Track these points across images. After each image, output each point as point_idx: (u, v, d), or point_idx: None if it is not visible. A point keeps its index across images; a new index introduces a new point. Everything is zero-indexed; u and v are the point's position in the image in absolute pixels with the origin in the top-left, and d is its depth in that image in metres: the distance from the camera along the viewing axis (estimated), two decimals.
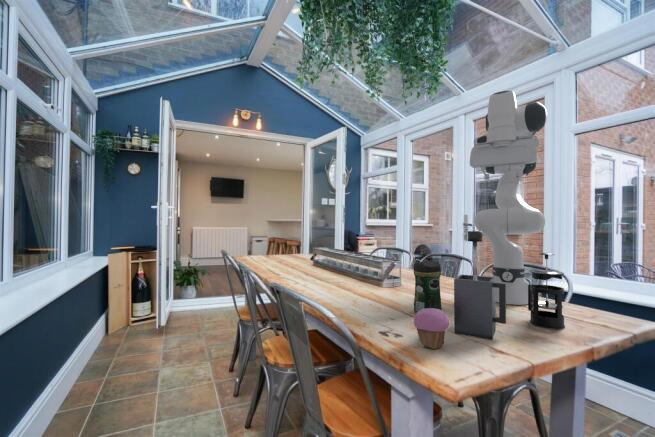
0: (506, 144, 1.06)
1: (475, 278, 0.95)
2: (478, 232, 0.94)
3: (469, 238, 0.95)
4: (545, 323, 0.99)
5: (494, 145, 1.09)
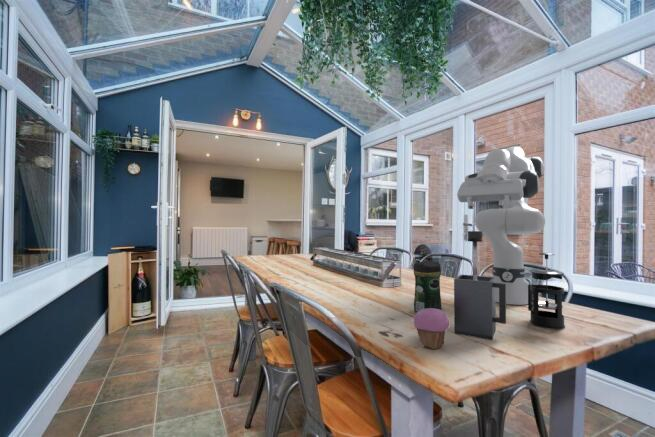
0: (494, 179, 1.09)
1: (475, 278, 0.95)
2: (478, 232, 0.94)
3: (469, 238, 0.95)
4: (545, 323, 0.99)
5: (483, 181, 1.12)
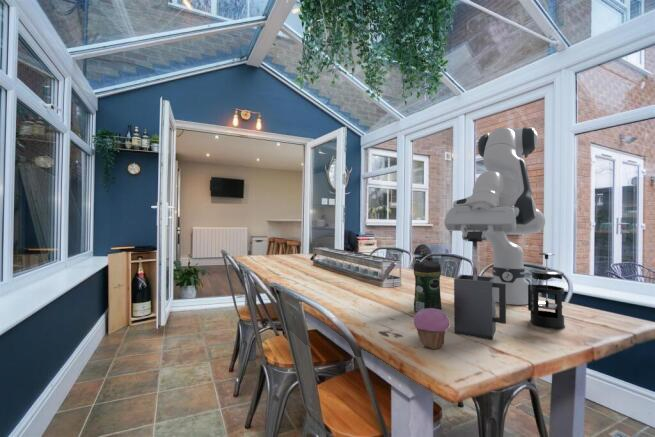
0: (484, 207, 0.99)
1: (475, 278, 0.95)
2: (478, 232, 0.94)
3: (469, 238, 0.95)
4: (545, 323, 0.99)
5: (472, 207, 1.02)
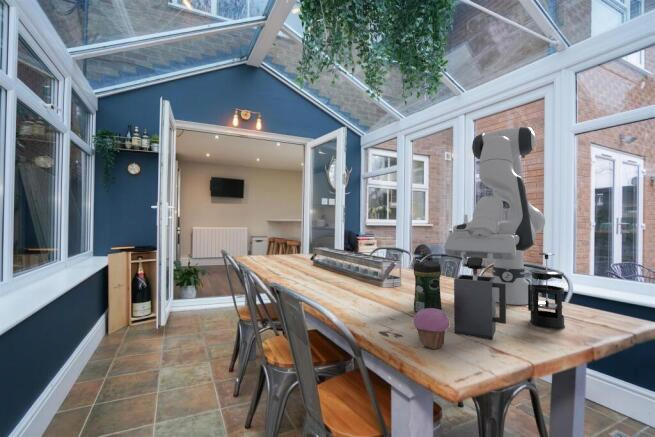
0: (484, 233, 0.99)
1: None
2: (478, 259, 0.94)
3: (469, 265, 0.95)
4: (545, 323, 0.99)
5: (472, 234, 1.01)
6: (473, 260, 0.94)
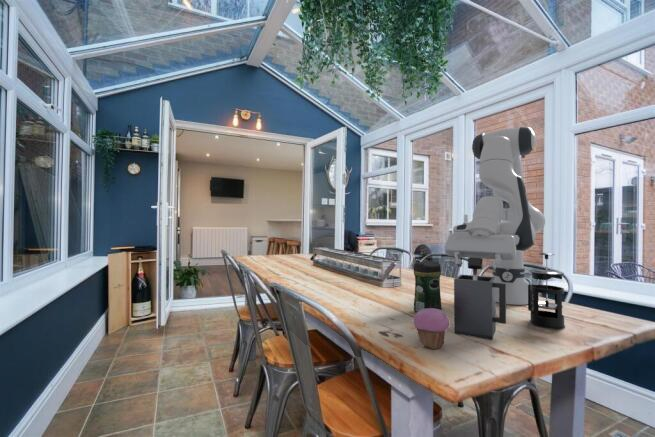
0: (484, 234, 0.99)
1: None
2: (478, 259, 0.94)
3: (469, 265, 0.95)
4: (545, 323, 0.99)
5: (472, 234, 1.02)
6: (473, 260, 0.94)
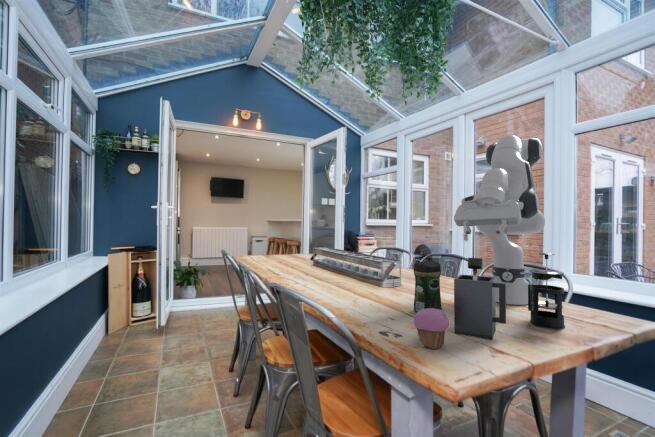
0: (490, 202, 1.06)
1: None
2: (478, 259, 0.94)
3: (469, 265, 0.95)
4: (545, 323, 0.99)
5: (479, 204, 1.09)
6: (473, 260, 0.94)
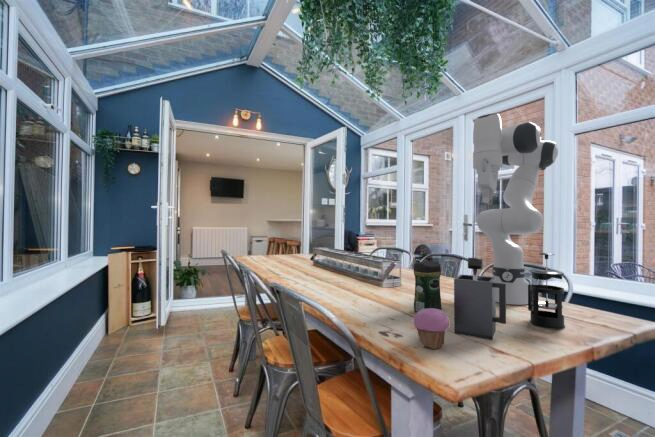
0: (477, 171, 1.07)
1: None
2: (478, 259, 0.94)
3: (469, 265, 0.95)
4: (545, 323, 0.99)
5: None
6: (473, 260, 0.94)
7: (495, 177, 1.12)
